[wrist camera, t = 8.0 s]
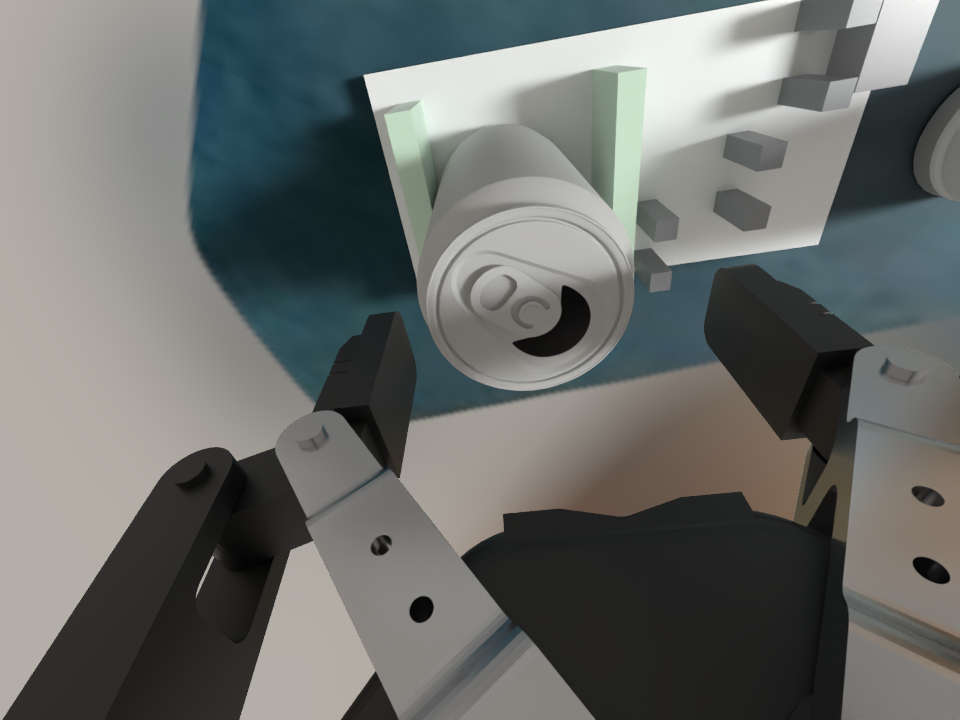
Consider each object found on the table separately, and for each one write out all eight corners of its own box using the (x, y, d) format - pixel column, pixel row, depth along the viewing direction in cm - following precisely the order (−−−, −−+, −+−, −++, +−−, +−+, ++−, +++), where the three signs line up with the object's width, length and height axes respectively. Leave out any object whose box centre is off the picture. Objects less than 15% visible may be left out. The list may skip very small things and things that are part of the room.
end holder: (399, 103, 19) (383, 114, 15) (615, 65, 18) (647, 68, 15) (442, 293, 24) (437, 330, 21) (608, 269, 23) (630, 304, 20)
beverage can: (515, 275, 24) (545, 430, 14) (416, 210, 21) (369, 340, 12) (595, 176, 21) (703, 287, 11) (488, 87, 18) (506, 128, 9)
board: (369, 74, 19) (346, 78, 16) (885, -22, 17) (986, -41, 14) (424, 290, 25) (416, 327, 22) (804, 236, 24) (859, 267, 20)
